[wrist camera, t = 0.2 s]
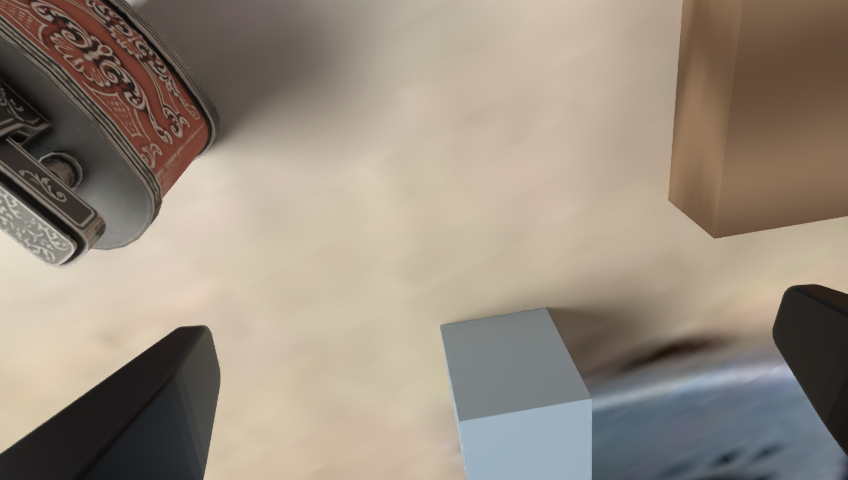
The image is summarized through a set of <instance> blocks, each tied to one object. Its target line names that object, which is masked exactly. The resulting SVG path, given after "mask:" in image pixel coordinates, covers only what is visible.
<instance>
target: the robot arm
mask: <svg viewBox="0 0 848 480" xmlns="http://www.w3.org/2000/svg"><path fill="white" fill-rule="evenodd" d="M773 339H774V342H775V344H776V346H777V348H778V349H779V351H780V353H781V354H782V356H783V358H784V359H785V361H786V363H787V364H788V366H789V368H790V369H791V371H792V372H793V374H794V376H795V377H796V379H797V381H798V382H799V384H800V386H801V387H802V389H803V391H804V392H805V394H806V396H807V397H808V399H809V400H810V402H811V404H812V405H813V407H814V409H815V410H816V412H817V414H818V415H819V417H820V418H821V420H822V421H823V423H824V424H825V426H826V427H827V429H828V430H829V432H830V433H831V434H832V436H833V437H834V439H835V440H836V441H837V443H838V444H839V445H840V447H841V448H842V449H843V451H844V452H845V454H846V455H847V456H848V294H846V293H843V292H840V291H836V290H833V289H830V288H827V287H824V286H821V285H816V284H809V285H796V286H791V287H789V288H788V289H787V290H786V291H785V292H784V295H783V297H782V301H781V304H780V307H779V310H778V313H777V316H776V319H775V322H774V326H773ZM219 388H220V367H219V363H218V359H217V354H216V350H215V346H214V342H213V337H212V333H211V331H210V329H209V328H208V327H207V326H205V325H199V326H183V327H179V328H177V329H175V330H174V331H172V332H171V333H170V334H168V335H167V336H165V337H164V338H162V339H161V340H160V341H158V342H157V343H155V344H154V345H153V346H151V347H150V348H148V349H147V350H146V351H144V352H143V353H141V354H140V355H139V356H137V357H136V358H134V359H133V360H132V361H130V362H129V363H127V364H126V365H125V366H123V367H122V368H120V369H119V370H117V371H116V372H115V373H113V374H112V375H110V376H109V377H108V378H106V379H105V380H103V381H102V382H101V383H99V384H98V385H96V386H95V387H94V388H92V389H91V390H89V391H88V392H87V393H85V394H84V395H82V396H81V397H80V398H78V399H77V400H75V401H74V402H72V403H71V404H70V405H68V406H67V407H65V408H64V409H63V410H61V411H60V412H58V413H57V414H56V415H54V416H53V417H51V418H50V419H49V420H47V421H46V422H44V423H43V424H42V425H40V426H39V427H37V428H36V429H34V430H33V431H32V432H30V433H29V434H27V435H26V436H25V437H23V438H22V439H20V440H19V441H18V442H16V443H15V444H13V445H12V446H11V447H9V448H8V449H6V450H5V451H3V452H2V453H1V454H0V480H203V479H204V474H205V469H206V463H207V458H208V452H209V446H210V440H211V435H212V429H213V423H214V417H215V412H216V406H217V400H218V394H219Z"/></svg>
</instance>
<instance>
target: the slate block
mask: <svg viewBox="0 0 848 480" xmlns="http://www.w3.org/2000/svg"><path fill="white" fill-rule="evenodd" d="M440 329H441V336H442V342H443V348H444V355H445V361H446V368H447V374H448V380H449V387H450V393H451V400H452V406H453V411H454V416H455V422H456V427H457V432H458V437H459V442H460V448H461V453H462V458H463V463H464V469H465V474H466V479H467V480H592V398H591V396H590V394H589V392H588V390H587V388H586V386H585V384H584V382H583V380H582V378H581V376H580V374H579V372H578V370H577V368H576V366H575V364H574V362H573V360H572V358H571V356H570V354H569V352H568V350H567V348H566V346H565V344H564V342H563V340H562V338H561V336H560V334H559V332H558V330H557V328H556V326H555V324H554V322H553V320H552V318H551V316H550V314H549V312H548V310H547V308H540V309H534V310H528V311H522V312H516V313H511V314H505V315H499V316H493V317H487V318H481V319H475V320H470V321H464V322H458V323H452V324H446V325H440Z"/></svg>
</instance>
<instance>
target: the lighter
mask: <svg viewBox="0 0 848 480" xmlns="http://www.w3.org/2000/svg"><path fill="white" fill-rule="evenodd" d="M219 130H220V118H219V115H218V113H217V111H216V108H215V107H214V105H213V104H212V102H211V101H210V99H209V98H208V96H207V95H206V93H205V92H204V90H203V89H202V87H201V86H200V84H199V83H198V81H197V80H196V78H195V77H194V76H193V74H192V73H191V71H190V70H189V68H188V67H187V66H186V65H185V64H184V62H183V61H182V60H181V59H180V58H179V56H178V55H177V54H176V53H175V52H174V50H173V49H172V48H171V47H170V46H169V44H168V43H167V42H166V41H165V40H164V38H163V37H162V36H161V35H160V34H159V33H158V31H157V30H156V29H155V28H154V27H153V26H152V25H151V24H150V23H149V22H148V21H147V20H146V19H144V18H143V17H142V16H141V15H140V14H139V13H138V12H137V11H136V10H135V9H134V8H133V7H132V6H131V5H130V4H129V3H128V2H127V1H125V0H0V230H2V231H3V232H4V233H6V234H7V235H8V236H10V237H11V238H12V239H14V240H15V241H16V242H18V243H19V244H20V245H21V246H23V247H24V248H25V249H27V250H28V251H29V252H31V253H32V254H33V255H35V256H36V257H37V258H39V259H40V260H41V261H43V262H45V263H46V264H48V265H50V266H53V267H57V268H67V267H70V266H71V265H73V264H75V263H76V262H78V261H79V260H80V259H81V258H82V257H83V256H84V255H85V254H86V253H87V252H88V251H89V250H90V249H100V250H111V249H116V248H121V247H125V246H127V245H129V244H130V243H132V242H134V241H136V240H138V239H139V238H140V237H141V236H142V234H143V233H144V232H145V231H146V230H147V229H148V227H149V226H150V225H151V224H152V222H153V221H154V220H155V218H156V217H157V216H158V214H159V211H160V208H161V204H162V198H163V197H164V196H165V195H166V193H167V192H168V191H169V190H170V188H171V187H172V186H173V185H174V183H175V182H176V181H177V180H178V178H179V177H180V176H181V175H182V173H183V172H184V171H185V170H186V168H187V167H188V166H189V165H190V163H191V162H192V161H194V160H196V159H198V158H200V157H201V156H203V155H204V154H205V153H206V151H207V150H208V149H209V148H210V147H211V145H212V144H213V143H214V142H215V140H216V139H217V136H218V133H219Z"/></svg>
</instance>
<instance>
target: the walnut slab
mask: <svg viewBox="0 0 848 480" xmlns="http://www.w3.org/2000/svg"><path fill="white" fill-rule="evenodd" d="M668 200H669V201H670V202H671V203H672V204H674V205H675V206H676V207H677V208H678V209H680V210H681V211H682V212H683V213H684V214H686V215H687V216H688V217H689V218H690V219H692V220H693V221H694V222H695V223H696V224H698V225H699V226H700V227H701V228H702V229H704V230H705V231H706V232H707V233H708V234H710V235H711V236H712V237H713V238H714V239H715V238H721V237H727V236H732V235H738V234H744V233H750V232H756V231H762V230H768V229H774V228H780V227H785V226H791V225H797V224H803V223H809V222H815V221H821V220H827V219H833V218H838V217H844V216H848V0H683V7H682V21H681V35H680V48H679V62H678V76H677V89H676V103H675V117H674V130H673V144H672V158H671V171H670V185H669V199H668Z"/></svg>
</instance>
